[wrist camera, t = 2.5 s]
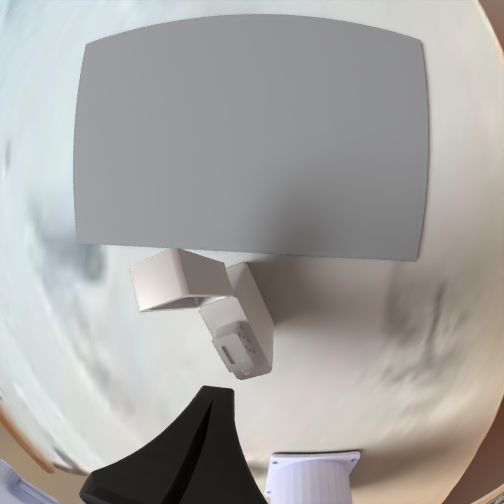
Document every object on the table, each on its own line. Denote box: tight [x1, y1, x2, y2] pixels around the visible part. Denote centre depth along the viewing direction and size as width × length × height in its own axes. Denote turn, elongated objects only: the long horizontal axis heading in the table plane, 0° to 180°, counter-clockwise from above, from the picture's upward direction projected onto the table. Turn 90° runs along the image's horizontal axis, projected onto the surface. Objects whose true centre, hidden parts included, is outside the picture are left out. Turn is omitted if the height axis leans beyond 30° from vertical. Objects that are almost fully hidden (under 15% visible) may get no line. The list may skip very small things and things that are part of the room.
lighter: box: [129, 248, 274, 380], centre depth 12 cm, size 7×2×8 cm, turn 23°
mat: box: [73, 14, 428, 261], centre depth 13 cm, size 13×20×1 cm, turn 88°
